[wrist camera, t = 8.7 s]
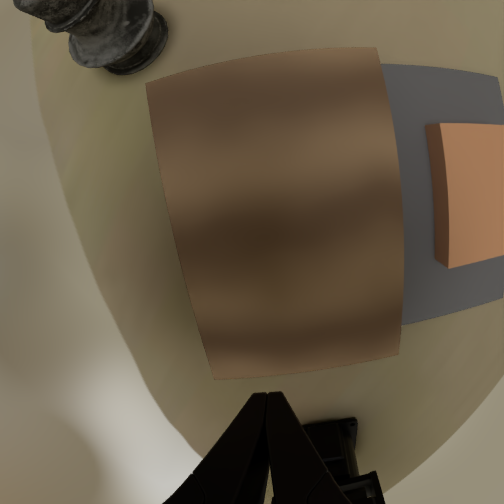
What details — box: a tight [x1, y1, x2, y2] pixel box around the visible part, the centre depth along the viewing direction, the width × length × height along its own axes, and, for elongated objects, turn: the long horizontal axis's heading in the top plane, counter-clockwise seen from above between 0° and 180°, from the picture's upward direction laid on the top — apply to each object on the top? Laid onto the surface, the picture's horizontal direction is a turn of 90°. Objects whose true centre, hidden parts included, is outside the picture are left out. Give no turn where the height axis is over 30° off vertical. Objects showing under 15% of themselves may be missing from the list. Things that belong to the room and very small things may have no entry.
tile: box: [425, 123, 504, 269], centre depth 15 cm, size 9×6×2 cm, turn 11°
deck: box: [145, 47, 404, 380], centre depth 16 cm, size 18×12×4 cm, turn 10°
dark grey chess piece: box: [13, 0, 168, 75], centre depth 9 cm, size 6×6×12 cm
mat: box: [381, 64, 504, 326], centre depth 17 cm, size 18×12×1 cm, turn 10°
